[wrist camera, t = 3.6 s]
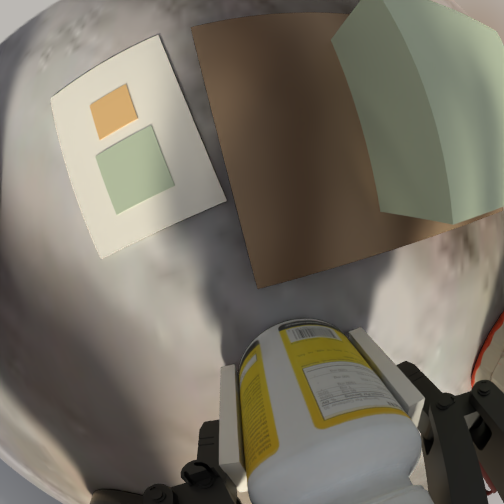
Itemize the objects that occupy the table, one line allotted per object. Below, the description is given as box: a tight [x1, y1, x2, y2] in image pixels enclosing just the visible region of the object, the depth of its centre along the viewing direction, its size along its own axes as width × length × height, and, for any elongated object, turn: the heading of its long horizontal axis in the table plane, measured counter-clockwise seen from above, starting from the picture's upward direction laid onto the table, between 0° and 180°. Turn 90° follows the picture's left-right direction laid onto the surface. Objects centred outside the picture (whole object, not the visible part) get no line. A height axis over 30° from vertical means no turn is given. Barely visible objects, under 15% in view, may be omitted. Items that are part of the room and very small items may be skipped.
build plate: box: [191, 12, 503, 289], centre depth 11 cm, size 18×13×1 cm
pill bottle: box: [239, 319, 434, 504], centre depth 9 cm, size 6×6×12 cm
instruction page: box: [50, 35, 227, 259], centre depth 11 cm, size 7×10×1 cm
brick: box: [331, 0, 504, 225], centre depth 8 cm, size 9×9×5 cm
